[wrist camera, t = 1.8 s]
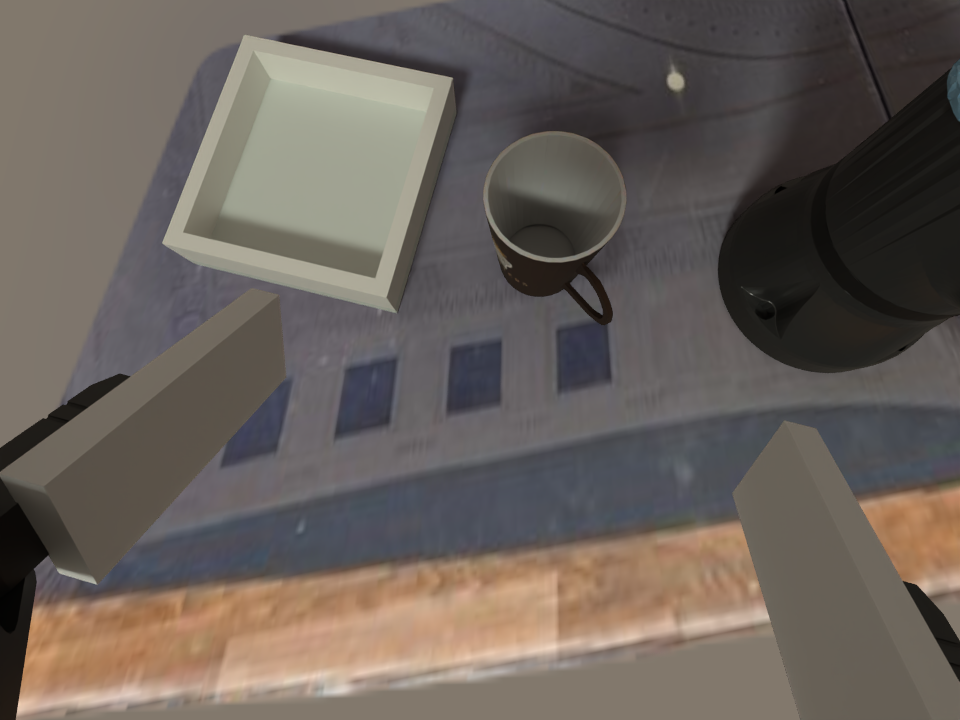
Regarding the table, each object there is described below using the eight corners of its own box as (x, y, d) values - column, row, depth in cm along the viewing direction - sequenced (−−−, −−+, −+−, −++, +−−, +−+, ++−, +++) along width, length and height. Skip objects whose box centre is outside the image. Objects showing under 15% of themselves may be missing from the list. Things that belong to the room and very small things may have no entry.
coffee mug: (484, 211, 40) (481, 133, 30) (589, 207, 40) (620, 128, 30) (487, 349, 38) (486, 314, 28) (598, 346, 38) (636, 309, 28)
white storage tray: (456, 112, 42) (452, 77, 38) (397, 313, 38) (386, 297, 35) (267, 72, 43) (244, 34, 39) (194, 263, 40) (162, 243, 36)
